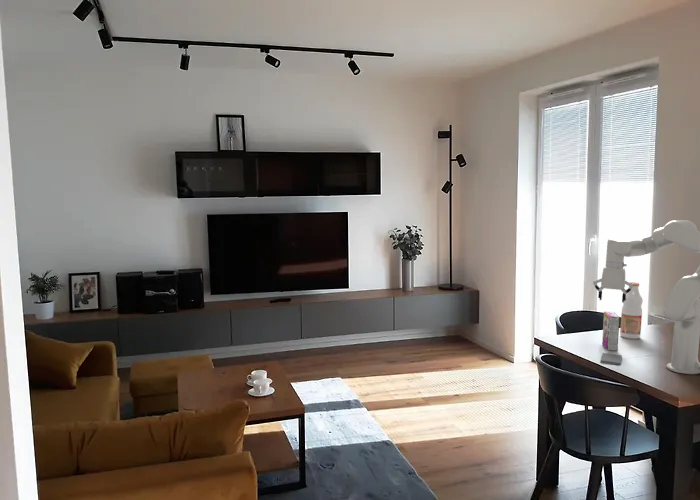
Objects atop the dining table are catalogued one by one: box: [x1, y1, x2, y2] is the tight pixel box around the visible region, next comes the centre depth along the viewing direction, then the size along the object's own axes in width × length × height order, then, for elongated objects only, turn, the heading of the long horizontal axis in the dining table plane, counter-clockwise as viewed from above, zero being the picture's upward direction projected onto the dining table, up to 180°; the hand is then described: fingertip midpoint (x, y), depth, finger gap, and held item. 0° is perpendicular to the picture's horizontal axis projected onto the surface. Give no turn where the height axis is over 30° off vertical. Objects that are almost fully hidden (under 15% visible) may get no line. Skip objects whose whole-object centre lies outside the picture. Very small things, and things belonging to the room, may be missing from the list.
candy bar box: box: [601, 311, 621, 352], centre depth 278 cm, size 11×5×16 cm, turn 168°
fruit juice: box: [619, 281, 644, 340], centre depth 297 cm, size 9×9×28 cm
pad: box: [600, 352, 623, 366], centre depth 259 cm, size 8×13×1 cm, turn 153°
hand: (611, 300), depth 275 cm, fingers open, 9 cm apart
